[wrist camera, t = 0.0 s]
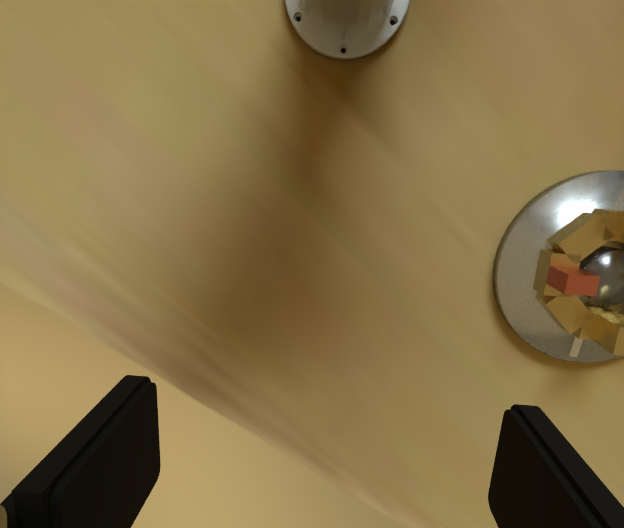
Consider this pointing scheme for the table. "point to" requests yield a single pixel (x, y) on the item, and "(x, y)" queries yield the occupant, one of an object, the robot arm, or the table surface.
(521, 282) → the cap plate
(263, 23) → the table surface
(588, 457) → the table surface
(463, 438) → the table surface
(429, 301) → the table surface
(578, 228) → the wooden block ring
